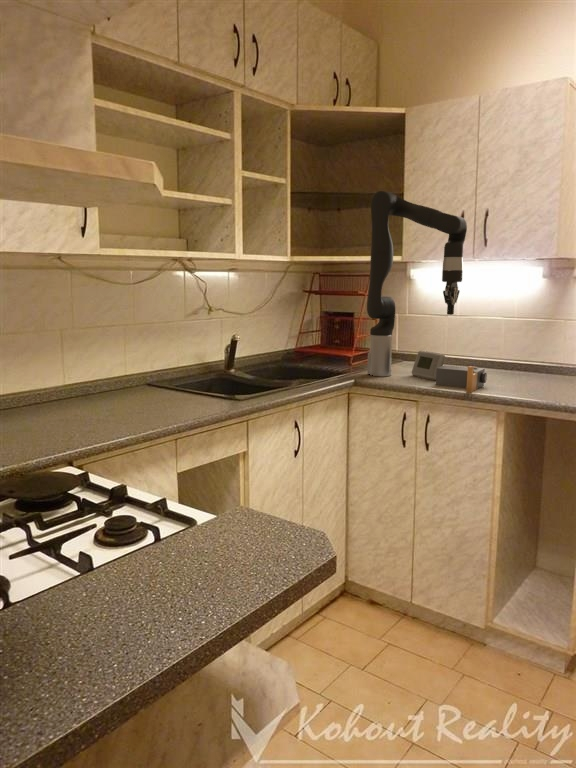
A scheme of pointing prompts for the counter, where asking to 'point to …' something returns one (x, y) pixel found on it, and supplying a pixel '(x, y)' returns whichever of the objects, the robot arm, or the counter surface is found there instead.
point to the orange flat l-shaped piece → (471, 380)
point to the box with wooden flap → (458, 376)
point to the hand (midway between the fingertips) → (450, 314)
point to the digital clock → (427, 364)
